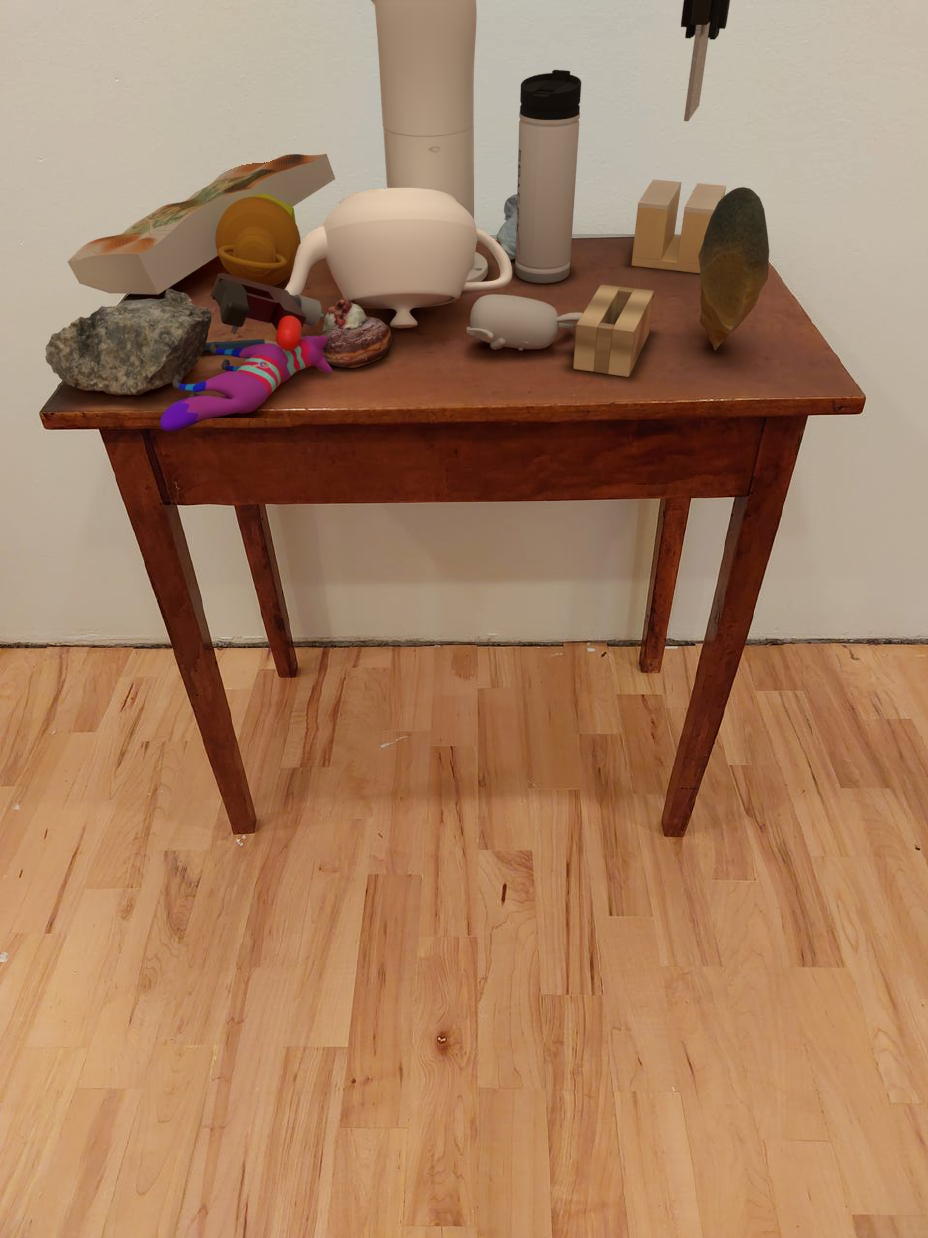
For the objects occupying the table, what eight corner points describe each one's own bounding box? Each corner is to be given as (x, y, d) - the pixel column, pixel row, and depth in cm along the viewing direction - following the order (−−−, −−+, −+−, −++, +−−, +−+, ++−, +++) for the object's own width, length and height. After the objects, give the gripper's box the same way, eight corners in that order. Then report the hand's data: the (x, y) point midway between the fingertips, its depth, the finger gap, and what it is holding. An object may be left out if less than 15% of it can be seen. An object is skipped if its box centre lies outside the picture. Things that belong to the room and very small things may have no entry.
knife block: (628, 377, 86) (634, 331, 83) (572, 369, 88) (576, 323, 85) (648, 334, 93) (654, 290, 90) (596, 327, 95) (600, 283, 92)
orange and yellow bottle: (226, 248, 114) (202, 303, 94) (231, 169, 109) (207, 208, 89) (299, 262, 116) (292, 318, 95) (308, 185, 111) (301, 227, 91)
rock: (28, 269, 78) (78, 281, 88) (30, 387, 81) (78, 387, 91) (191, 286, 78) (224, 297, 88) (188, 404, 81) (220, 402, 91)
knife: (693, 121, 95) (711, -5, 88) (678, 120, 96) (694, -6, 88) (704, 106, 100) (721, -15, 93) (689, 105, 100) (705, -16, 93)
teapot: (534, 180, 86) (537, 317, 89) (488, 217, 101) (492, 333, 103) (263, 173, 80) (275, 320, 83) (256, 214, 95) (266, 337, 97)
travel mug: (578, 267, 107) (591, 71, 94) (558, 287, 103) (569, 84, 90) (528, 259, 109) (535, 67, 96) (506, 279, 105) (510, 79, 92)
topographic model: (158, 294, 98) (135, 248, 95) (84, 292, 106) (61, 250, 103) (335, 178, 113) (320, 135, 110) (258, 185, 121) (242, 145, 118)
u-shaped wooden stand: (631, 265, 108) (638, 201, 103) (645, 240, 114) (653, 178, 109) (705, 274, 105) (715, 209, 101) (716, 247, 112) (726, 185, 107)
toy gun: (322, 295, 89) (304, 339, 92) (206, 262, 81) (189, 311, 84) (362, 348, 84) (341, 393, 86) (241, 318, 76) (222, 368, 78)
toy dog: (248, 346, 91) (343, 360, 89) (150, 444, 79) (257, 463, 77) (241, 310, 89) (339, 323, 86) (138, 406, 76) (248, 424, 74)
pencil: (130, 354, 91) (283, 345, 92) (128, 358, 90) (282, 349, 91) (127, 346, 90) (281, 336, 91) (126, 350, 89) (281, 340, 91)
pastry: (322, 334, 94) (317, 285, 90) (396, 334, 94) (393, 285, 90) (310, 370, 88) (303, 319, 84) (388, 370, 88) (385, 319, 84)
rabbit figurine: (469, 329, 86) (593, 347, 87) (473, 278, 87) (597, 297, 88) (460, 357, 92) (577, 374, 93) (465, 309, 93) (580, 326, 94)
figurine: (570, 210, 115) (561, 164, 110) (560, 281, 110) (550, 237, 105) (510, 218, 118) (497, 173, 112) (498, 288, 113) (484, 245, 107)
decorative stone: (674, 330, 94) (697, 173, 84) (732, 328, 94) (762, 171, 84) (699, 374, 87) (728, 207, 77) (762, 371, 87) (799, 205, 77)
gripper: (638, -206, 81) (617, 39, 93) (825, -210, 76) (778, 47, 89) (654, -205, 86) (633, 26, 98) (830, -209, 82) (785, 33, 94)
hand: (702, 35), depth 93 cm, fingers closed on knife, 1 cm apart
